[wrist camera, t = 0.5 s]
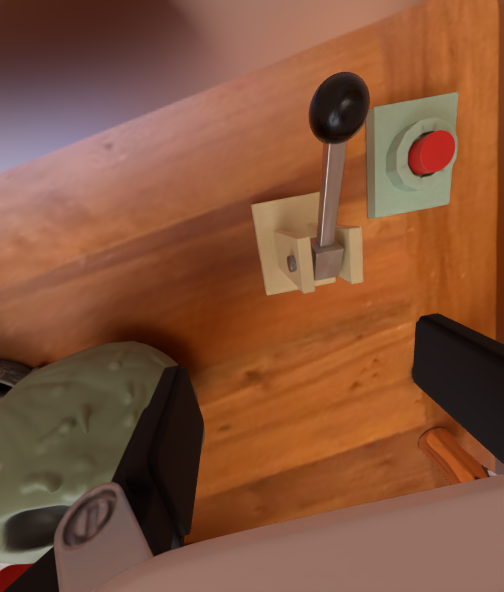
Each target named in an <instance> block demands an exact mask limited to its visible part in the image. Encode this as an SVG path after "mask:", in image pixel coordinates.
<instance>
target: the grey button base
mask: <svg viewBox="0 0 504 592" xmlns="http://www.w3.org/2000/svg"><path fill="white" fill-rule="evenodd" d="M458 94H459V92H454V93H449V94H443V95H437V96H432V97H426V98H421V99H415V100H410V101H404V102H399V103H393V104H388V105H382V106H377V107H374V108H372V109H371V110H370V111H369V112H368V115H367V118H366V153H367V205H368V218H379V217H384V216H390V215H395V214H400V213H405V212H410V211H416V210H421V209H426V208H431V207H436V206H442V205H447V204H449V199H450V188H451V176H452V166H453V164H454V162H455V160H456V158H457V147H458V138H457V136H456V134H455V129H456V117H457V106H458ZM438 130H444V131H447V132H449V133H450V134H451V135H452V136H453V138H454V140H455V152H454V156H453V158H452V160H451V161H450V163H449V164H448V165H447V166H446V167H445V168H443V169H442V170H440V171H437V172H433V173H428V174H424V175H419V174H416V173H414V172H413V171H412V170H411V169H410V167H409V164H408V155H409V151H410V149H411V147H412V145H413V144H414V143H415V142H416V141H417V140H418V139H419V138H421V137H423V136H426V135H428V134H430V133H433V132H435V131H438Z"/></svg>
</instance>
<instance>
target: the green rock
mask: <svg viewBox="0 0 504 592" xmlns="http://www.w3.org/2000/svg"><path fill="white" fill-rule="evenodd" d="M176 365H178V364H177V363H176V362H175V361H174V360H173V359H172V358H170V357H169V356H168V355H166V354H165V353H163V352H161V351H159V350H157V349H155V348H153V347H151V346H149V345H147V344H144V343H138V342H136V341H124V342H114V343H106V344H103V345H99V346H95V347H92V348H88V349H85V350H83V351H80V352H77V353H75V354H72V355H69V356H67V357H64V358H62V359H59V360H57V361H55V362H53V363H51V364H49V365H46V366H44V367H42V368H40V369H38V370H36V371H34V372H32V373H30V374H29V375H27V376H26V377H24V378H23V379H22V380H20V381H19V382H18V383H17V384H16V385H15V386H14V387H13V388H12V389H11V390H10V391H9V392H8V393H7V394H6V395H5V396H4V397H3V398H2V399H1V400H0V570H2V569H3V568H5V567H7V566H9V565H14V564H32V563H35V562H36V561H37V560H39V559H40V558H41V557H42V556H43V555H44V554H45V553H46V552H47V551H49V550H50V549H51V548H52V547H53V546H54V535H55V533H56V530H57V527H58V525H59V523H60V521H61V520H62V518H63V516H64V515H65V513H66V512H67V510H68V509H69V508H70V507H71V506H72V505H73V503H74V502H75V501H76V500H77V499H79V498H80V497H81V496H82V495H83V494H84V493H86V492H87V491H89V490H90V489H92V488H93V487H95V486H97V485H100V484H102V483H107V482H111V480H112V478H113V476H114V473H115V471H116V469H117V467H118V464H119V462H120V460H121V458H122V456H123V453H124V451H125V449H126V447H127V445H128V442H129V440H130V438H131V436H132V433H133V431H134V429H135V427H136V425H137V422H138V420H139V418H140V416H141V414H142V412H143V410H144V409H145V408H146V407H148V405H149V403H150V400H151V398H152V396H153V393H154V391H155V389H156V387H157V384H158V382H159V380H160V377H161V375H162V373H163V370H164V369H165V368H166V367H171V366H176ZM182 368H183V367H182ZM191 383H192V382H191ZM192 386H193V384H192ZM193 389H194V393H195V396H196V399H197V394H196V391H195V388H194V386H193ZM197 402H198V400H197ZM204 437H205V429H204V431H203V439H202V446H203V443H204ZM202 446H201V448H202Z"/></svg>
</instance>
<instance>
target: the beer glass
mask: <svg viewBox="0 0 504 592" xmlns="http://www.w3.org/2000/svg"><path fill="white" fill-rule="evenodd" d="M418 446H419V449H420V450H421V452H422V453H423V454H425V455H426V456H427V457H428V458H429V459H430V460H431V461H432V462H433V463H434V464H435V465H436V466H437V467H438V469H439V470H440V471H441V473H442V474H443V476H444V477H445V479H446V480H447V482H448V483H449V485H454V484H459V483H463V482H468V481H473V480H478V479H482V478H487V477H492V476H497V475H496V474H495V473H493V472H492V471H491V470H490V469H488V468H487V467H486V466H484V465H483V464H482V463H480V462H479V461H478V460H476V459H475V458H474V457H473V456H471V455H470V454H469V453H468V452H467V451H466V450H465V449H464V448H463V447H462V446H461V445H460V444H459V443H458V441H457V440H456V439H455V437H454V436H453V435H452V433H451V432H450V431H449V430H448V429H446V428H442V427H438V428H433V429H431V430H429V431H427V432H426V433H424V434H423V435H422V437H421V438H420V440H419V444H418Z"/></svg>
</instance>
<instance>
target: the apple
mask: <svg viewBox="0 0 504 592" xmlns="http://www.w3.org/2000/svg"><path fill="white" fill-rule="evenodd" d="M33 564H34V563H32V564H14V565H9V566H7V567H5V568H3V569H2V570H0V592H3V591H4V590H5V589H6V588H7V587H8V586H9V585H11V584H12V583H13V582H14V581H15V580H16V579H17V578H18V577H20V576H21V575H22V574H23V573H24V572H25V571H26V570H27V569H28V568H30V567H31V566H32V565H33Z"/></svg>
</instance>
